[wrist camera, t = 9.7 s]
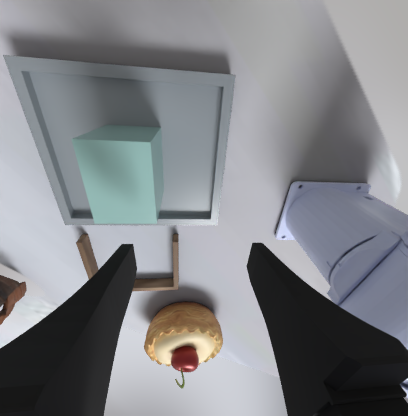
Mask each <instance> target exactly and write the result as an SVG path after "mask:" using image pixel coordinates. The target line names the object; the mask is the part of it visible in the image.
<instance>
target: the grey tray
mask: <svg viewBox="0 0 408 416" xmlns="http://www.w3.org/2000/svg"><path fill="white" fill-rule="evenodd" d="M3 56H4V59H5V62H6V65H7V67H8V70H9V73H10V76H11V78H12V81H13V84H14V86H15V89H16V92H17V95H18V97H19V100H20V103H21V106H22V108H23V111H24V114H25V117H26V119H27V122H28V125H29V128H30V130H31V133H32V136H33V138H34V141H35V144H36V147H37V149H38V152H39V155H40V158H41V160H42V163H43V166H44V169H45V171H46V174H47V177H48V179H49V182H50V185H51V188H52V190H53V193H54V196H55V199H56V201H57V204H58V207H59V210H60V212H61V215H62V218H63V221H64V223H65V225H217V224H218V215H219V207H220V199H221V191H222V182H223V174H224V166H225V157H226V149H227V141H228V133H229V124H230V116H231V108H232V99H233V91H234V83H235V75H230V74H218V73H207V72H195V71H184V70H172V69H160V68H149V67H137V66H125V65H114V64H102V63H91V62H79V61H67V60H56V59H44V58H33V57H21V56H9V55H3ZM105 125H124V126H144V127H161V136H162V156H163V176H164V193H163V198H162V202H161V207H160V211H159V216H158V221H157V224H95V223H94V219H93V216H92V212H91V209H90V205H89V201H88V198H87V194H86V190H85V187H84V183H83V180H82V176H81V172H80V169H79V165H78V161H77V158H76V154H75V151H74V147H73V143H72V140H71V139H73V138H75V137H78V136H80V135H83V134H85V133H88V132H90V131H93V130H95V129H97V128H100V127H102V126H105Z"/></svg>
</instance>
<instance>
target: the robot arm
mask: <svg viewBox="0 0 408 416" xmlns="http://www.w3.org/2000/svg"><path fill="white" fill-rule="evenodd" d="M300 185H301V187H299V186H300ZM298 187H299V188H298ZM357 187H358V188H357ZM370 188H371V185H369V184H367V183H336V182H301V181H295V182H293V183H292V184H291V186H290V189H289V193H288V196H287V199H286V202H285V205H284V208H283V212H282V215H281V218H280V221H279V224H278V227H277V231H276V234H275V238H276V239H277V240H296V241H297V242H298V244H299V245H300V246H301V248H302V249H303V250H304V251H305V253H306V254H307V255H308V257H309V258H310V259H311V261H312V262H313V263H314V265H315V266H316V267H317V269H318V270H319V271H320V273H321V274H322V275H323V277H324V278H325V279H326V281H327V282H328V283H329V285H330V286H331V287H330V290H329V291H328V293H327V294H328V295H329V297H330V298H331V300H332V301H333V302H334V303H333V302H332V301H330V300H329V299H327V298H326V297H324V296H323V295H322V294H320V293H319V292H317V291H316V290H315V289H313V288H312V287H311V286H309V285H308V284H307V283H306V282H304V281H303V280H302V279H301V278H299V277H298V276H297V275H296V274H295V273H294V272H292V271H291V270H290V269H289V268H288V267H287V266H286V265H285V264H284V263H283V262H281V261H280V260H279V259H278V258H277V257H276V256H275V255H274V254H273V253H272V252H271V251H270V250H269V249H268V248H267V247H266V246H265V245H264V244H263V243H252V247H251V251H250V255H249V259H248V263H247V270H248V274H249V278H250V282H251V285H252V287H253V290H254V293H255V295H256V298H257V301H258V303H259V306H260V309H261V311H262V314H263V317H264V319H265V322H266V325H267V329H268V333H269V336H270V340H271V344H272V348H273V351H274V355H275V359H276V363H277V368H278V372H279V376H280V381H281V385H282V390H283V395H284V399H285V404H286V409H287V414H288V416H408V403H407V402H406V400H405V399H404V398H403V397H406V398H408V215H407V214H405V213H403V212H401V211H399V210H397V209H396V208H394V207H392V206H390V205H388V204H387V203H385V202H383V201H381V200H379V199H377V198H376V197H374V196H372V195H370V194H368V192H369V190H370ZM283 235H284V236H283ZM136 271H137V266H136V260H135V254H134V247H133V244H122V245H121V246H120V247H119V248H118V249H117V250H116V251H115V253H114V254H113V255H112V256H111V257H110V258H109V259H108V261H107V262H106V263H105V264H104V265H103V266H102V267H101V268H100V269H99V270H98V271H97V272H96V273H95V274H94V276H92V277H91V278H90V279H89V280H88V281H87V282H86V283H85V284H84V285H83V286H82V287H81V288H80V289H79V290H78V291H77V292H76V293H75V294H73V295H72V296H71V297H70V298H69V299H68V300H67V301H65V302H64V303H63V304H62V305H61V306H59V307H58V308H57V309H56V310H54V311H53V312H52V313H50V314H49V315H48V316H46V317H45V318H44V319H43V320H41V321H40V322H39V323H37V324H36V325H34V326H33V327H32V328H30V329H29V330H27V331H26V332H24V333H23V334H22V335H20V336H19V337H17V338H16V339H14V340H13V341H11V342H10V343H8V344H7V345H5V346H4V347H2V348H0V416H104V410H105V403H106V398H107V393H108V387H109V382H110V376H111V371H112V366H113V361H114V356H115V351H116V347H117V341H118V337H119V333H120V329H121V326H122V322H123V319H124V316H125V313H126V309H127V306H128V303H129V300H130V297H131V293H132V290H133V287H134V282H135V277H136Z"/></svg>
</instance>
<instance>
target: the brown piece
mask: <svg viewBox="0 0 408 416" xmlns="http://www.w3.org/2000/svg"><path fill="white" fill-rule="evenodd" d="M25 292H26V283H25V282H22V283H19V282H17V281H15V280H13V279H10V278H7V277H4V276H1V275H0V307H1V306H2V305H3V309H2V310H1V311H0V325H1V324H2V323H3V321H4V320H5V318H6V317H7V316H9V314H10V313H11V311H12V310H13V308H14V305H15V303H16V302H17V301H19V300H20V299H21V298H22V297H23V296H24V295H25Z"/></svg>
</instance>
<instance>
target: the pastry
mask: <svg viewBox="0 0 408 416" xmlns="http://www.w3.org/2000/svg"><path fill="white" fill-rule="evenodd" d="M222 344H223V338H222V332H221V328H220V325H219V322H218V321H217V319H216V317H215V316H214V314H213V313H212V312H211V311H210V310H209V309H208V308H207V307H205V306H204V305H201V304H198V303H194V302H179V303H174V304H171V305H168V306H166V307H164V308H163V309H161V310H160V311H159V312H158V313H157V315H156V316H155V317H154V318H153V320H152V322H151V323H150V325H149V328H148V331H147V335H146V340H145V345H144V349H145V351H146V353H147V355H148V356H149V357H150V358H151V360H153V361H154V360H156V362H157V363H158V364H160V365H161V364H162V363H163V364H166V365H167V366H170V365H172V366H173V368H175V369H176V370H178V371H181V373H182V378H183V384H182V385H180V384H179V383H178V381H177V380H176V379H175V380H176V382H177V384H178V385H179V387H181V388H183V387H184V376H183V372H192V371H194V370H195V369H196V368H197V367H198V365H199V364H200V363H201V362H207V361H208V360H209V359H210V358H214V357H215V356H216V354H217V353H219V351H220V349H221V347H222Z"/></svg>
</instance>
